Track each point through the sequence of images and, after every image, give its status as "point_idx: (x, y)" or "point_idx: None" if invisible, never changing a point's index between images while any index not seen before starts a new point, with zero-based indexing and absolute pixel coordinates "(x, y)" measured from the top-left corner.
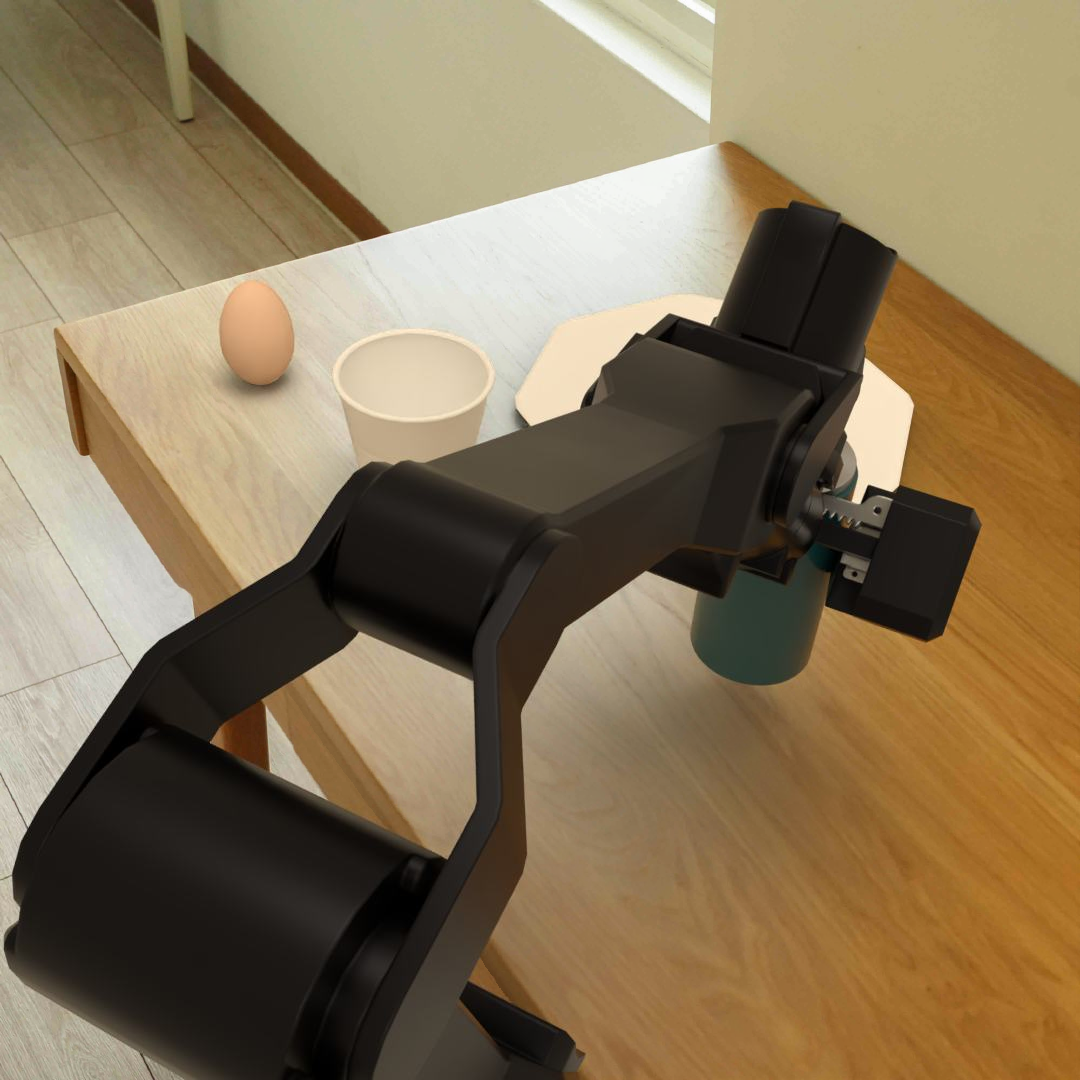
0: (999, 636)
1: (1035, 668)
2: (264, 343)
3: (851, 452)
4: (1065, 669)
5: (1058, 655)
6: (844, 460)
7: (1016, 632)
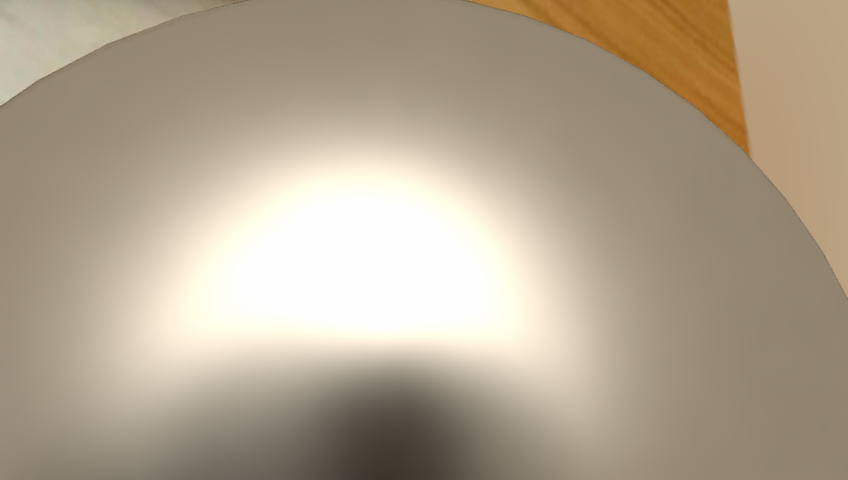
0: (650, 48)
1: (700, 91)
2: None
3: (830, 305)
4: (732, 79)
5: (721, 57)
6: (814, 436)
7: (668, 33)
